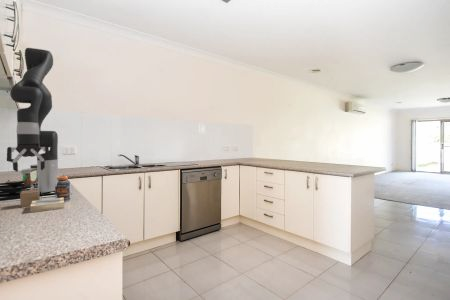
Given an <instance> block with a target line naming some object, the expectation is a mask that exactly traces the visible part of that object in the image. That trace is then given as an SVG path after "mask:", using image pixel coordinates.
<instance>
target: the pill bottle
mask: <svg viewBox="0 0 450 300" xmlns="http://www.w3.org/2000/svg"><path fill="white" fill-rule="evenodd" d="M68 179H69V177H68V176H67V175H60V176H59V175H58V177H57V180H58V181H57V182H55V191H54V198H62V197H64V202H69V201H70V200H71V199H72V198H71V181H70V180H68Z"/></svg>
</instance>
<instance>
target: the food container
mask: <svg viewBox="0 0 450 300" xmlns="http://www.w3.org/2000/svg"><path fill="white" fill-rule="evenodd" d="M20 173H21V174H22V180H23V182H22V183H23V186H24V187H33V186H34V185H33V184H35V185H37V184H38V181H37V168H31V167H29V168H23V169H21V171H20ZM36 183H37V184H36Z"/></svg>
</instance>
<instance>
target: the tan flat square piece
mask: <svg viewBox="0 0 450 300" xmlns="http://www.w3.org/2000/svg"><path fill="white" fill-rule="evenodd" d="M29 208H30V209H29V212H30V213H38V212H43V211H52V210H60V209H61V210H62V209H64V208H65V201H64V197H62V198H55V197H53V198H46V199H45V198H44V199H40V200H36V201H32V203H31V205H30V206H29Z"/></svg>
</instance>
